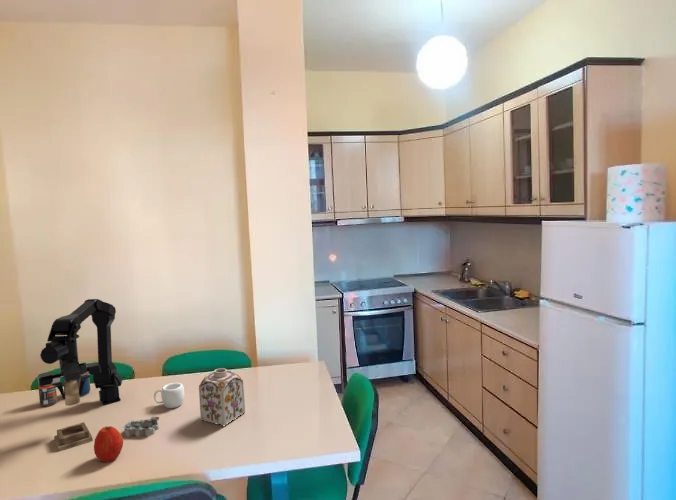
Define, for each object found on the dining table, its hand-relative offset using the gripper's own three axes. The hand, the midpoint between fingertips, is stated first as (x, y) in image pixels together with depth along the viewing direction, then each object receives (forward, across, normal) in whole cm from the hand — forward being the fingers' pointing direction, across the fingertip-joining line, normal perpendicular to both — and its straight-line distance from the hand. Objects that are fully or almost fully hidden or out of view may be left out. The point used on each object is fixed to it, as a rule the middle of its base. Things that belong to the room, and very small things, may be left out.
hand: (72, 397), depth 162 cm
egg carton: (+13, +18, -16) cm, 28 cm away
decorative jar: (+13, +45, -25) cm, 53 cm away
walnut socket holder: (+13, -1, -6) cm, 14 cm away
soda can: (+12, +7, +36) cm, 38 cm away
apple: (+13, +6, -27) cm, 31 cm away
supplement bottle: (+12, -5, +34) cm, 36 cm away
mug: (+12, +32, -1) cm, 35 cm away
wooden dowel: (+2, 0, 0) cm, 2 cm away
